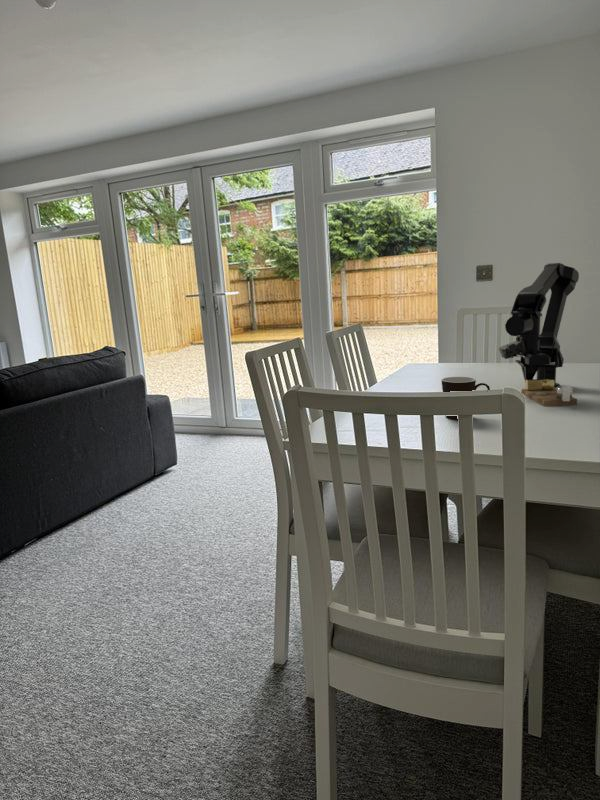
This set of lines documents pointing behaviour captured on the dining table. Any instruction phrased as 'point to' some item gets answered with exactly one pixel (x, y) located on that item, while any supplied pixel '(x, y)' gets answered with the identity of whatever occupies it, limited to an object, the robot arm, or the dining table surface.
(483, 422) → the dining table surface
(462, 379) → the coffee mug
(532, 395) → the copper base
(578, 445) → the dining table surface
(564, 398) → the steel lever handle
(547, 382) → the brass lever
